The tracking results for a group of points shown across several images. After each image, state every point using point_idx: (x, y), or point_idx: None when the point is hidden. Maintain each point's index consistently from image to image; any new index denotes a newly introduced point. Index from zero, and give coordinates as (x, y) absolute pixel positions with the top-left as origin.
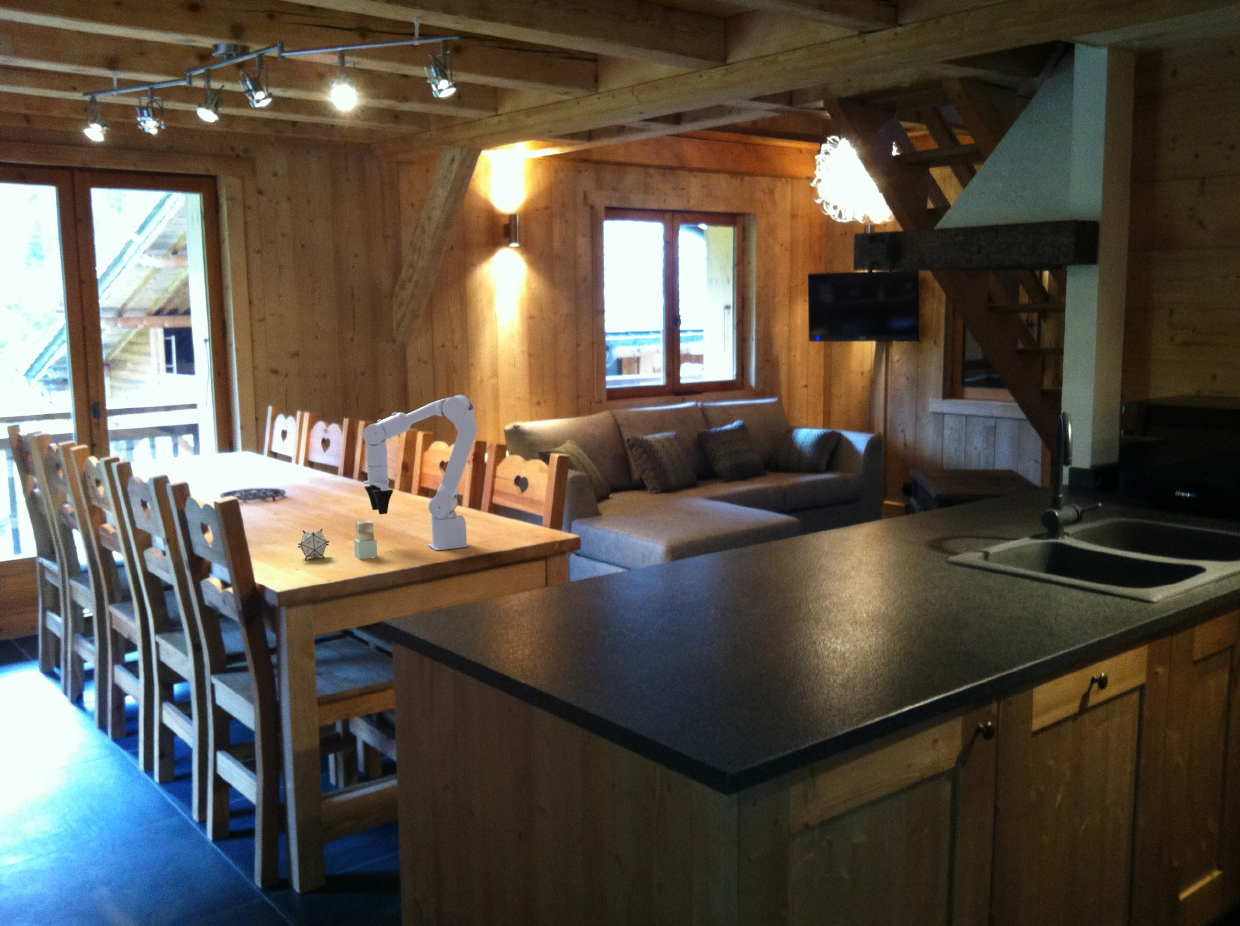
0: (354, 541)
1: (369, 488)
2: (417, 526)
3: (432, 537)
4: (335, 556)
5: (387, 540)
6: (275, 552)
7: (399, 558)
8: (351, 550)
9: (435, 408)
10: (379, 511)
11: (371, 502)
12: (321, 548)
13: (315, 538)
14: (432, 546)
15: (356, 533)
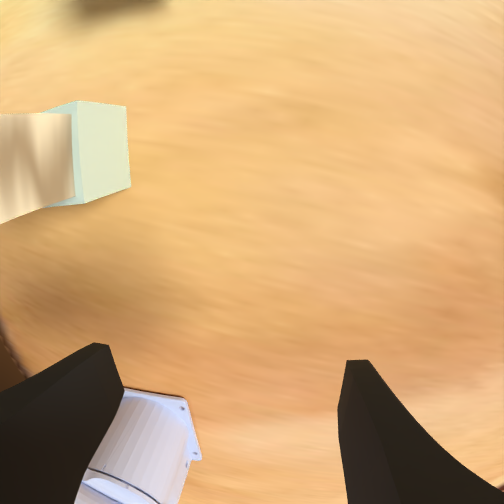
0: (81, 102)
1: None
2: (488, 417)
3: (135, 419)
4: (164, 25)
5: (383, 314)
6: None
7: (42, 261)
8: (257, 104)
9: None
10: (75, 354)
11: (366, 413)
12: None
13: None
14: (141, 395)
15: (46, 114)
